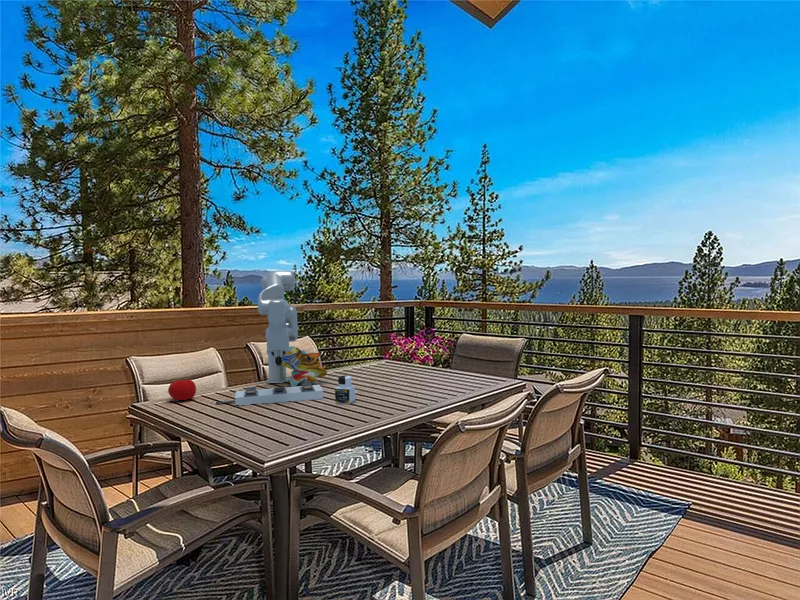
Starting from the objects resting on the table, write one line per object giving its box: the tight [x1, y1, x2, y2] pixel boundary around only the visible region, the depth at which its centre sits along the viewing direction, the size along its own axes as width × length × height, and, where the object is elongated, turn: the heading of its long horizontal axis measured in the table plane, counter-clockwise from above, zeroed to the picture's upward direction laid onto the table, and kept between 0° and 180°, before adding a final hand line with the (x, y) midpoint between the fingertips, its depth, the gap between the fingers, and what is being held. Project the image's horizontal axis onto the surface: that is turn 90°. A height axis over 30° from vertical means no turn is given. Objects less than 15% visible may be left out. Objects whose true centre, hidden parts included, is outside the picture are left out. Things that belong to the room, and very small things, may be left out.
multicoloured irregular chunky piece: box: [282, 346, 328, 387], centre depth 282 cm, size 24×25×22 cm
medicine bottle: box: [334, 375, 356, 405], centre depth 242 cm, size 7×7×12 cm
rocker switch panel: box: [215, 384, 324, 406], centre depth 249 cm, size 14×49×5 cm, turn 106°
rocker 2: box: [301, 382, 313, 391], centre depth 251 cm, size 7×4×2 cm, turn 16°
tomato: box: [167, 377, 197, 401], centre depth 254 cm, size 13×12×11 cm
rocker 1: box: [245, 386, 257, 395], centre depth 244 cm, size 7×4×2 cm, turn 16°
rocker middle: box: [273, 386, 285, 391], centre depth 248 cm, size 7×4×2 cm, turn 15°
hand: (278, 365), depth 245 cm, fingers closed
